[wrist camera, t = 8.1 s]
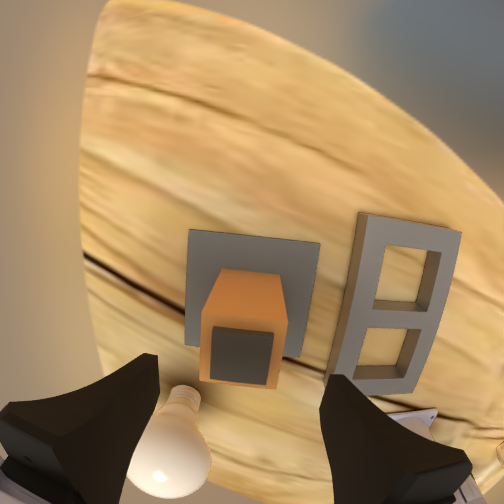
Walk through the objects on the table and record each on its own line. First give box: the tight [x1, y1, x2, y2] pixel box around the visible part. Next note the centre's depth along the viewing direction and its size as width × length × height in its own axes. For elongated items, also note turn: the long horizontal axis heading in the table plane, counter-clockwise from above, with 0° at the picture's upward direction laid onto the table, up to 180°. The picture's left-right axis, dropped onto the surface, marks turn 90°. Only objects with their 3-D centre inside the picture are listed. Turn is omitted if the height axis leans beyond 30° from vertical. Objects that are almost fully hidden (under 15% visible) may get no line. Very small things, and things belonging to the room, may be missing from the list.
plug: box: [199, 268, 288, 389], centre depth 17 cm, size 4×4×8 cm
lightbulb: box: [126, 385, 212, 499], centre depth 19 cm, size 6×6×11 cm
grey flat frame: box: [323, 212, 462, 396], centre depth 21 cm, size 14×8×2 cm, turn 174°
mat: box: [185, 229, 320, 358], centre depth 22 cm, size 9×9×1 cm
